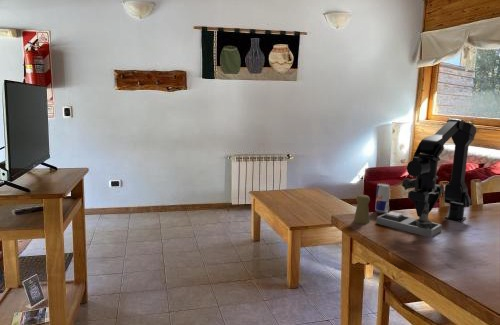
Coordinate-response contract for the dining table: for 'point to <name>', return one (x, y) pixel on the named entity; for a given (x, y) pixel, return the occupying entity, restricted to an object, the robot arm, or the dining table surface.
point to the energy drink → (382, 198)
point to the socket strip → (409, 225)
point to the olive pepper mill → (362, 209)
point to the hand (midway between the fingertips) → (424, 214)
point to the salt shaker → (424, 219)
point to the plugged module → (394, 216)
